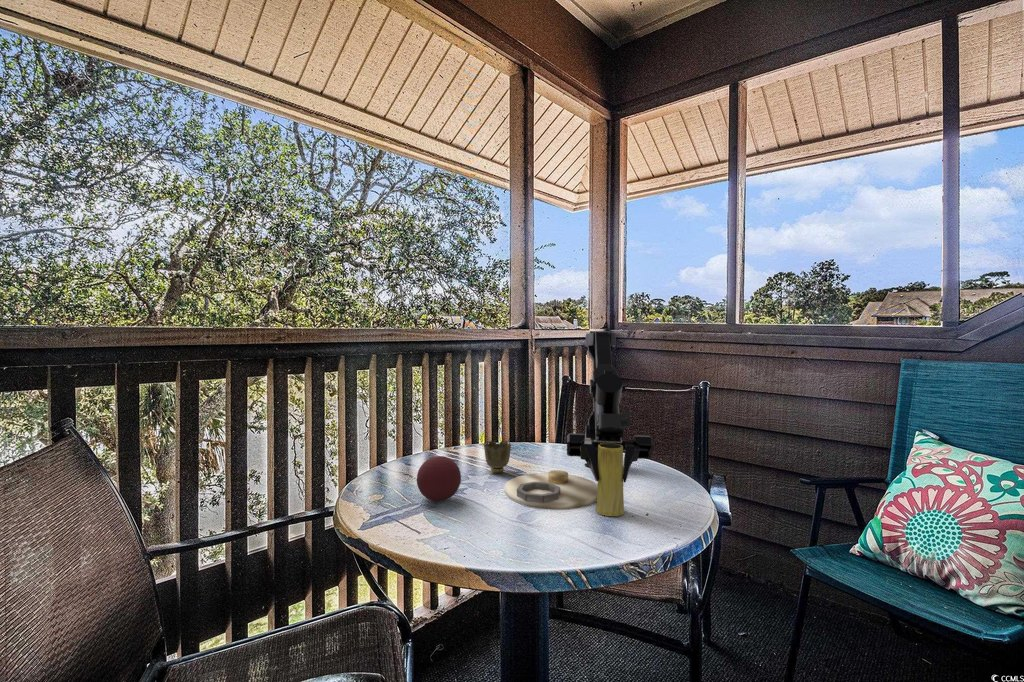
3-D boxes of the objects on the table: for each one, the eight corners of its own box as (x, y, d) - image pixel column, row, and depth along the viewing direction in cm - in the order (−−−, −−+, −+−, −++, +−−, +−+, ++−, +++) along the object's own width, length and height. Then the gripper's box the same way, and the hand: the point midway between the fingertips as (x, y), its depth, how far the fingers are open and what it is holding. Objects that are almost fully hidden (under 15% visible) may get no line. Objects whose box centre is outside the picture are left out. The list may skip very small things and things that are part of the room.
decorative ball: (449, 510, 102) (449, 464, 102) (408, 505, 105) (408, 460, 105) (467, 495, 112) (468, 453, 111) (429, 490, 115) (429, 449, 115)
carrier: (561, 472, 131) (561, 461, 131) (621, 497, 111) (621, 484, 111) (487, 485, 119) (487, 473, 119) (539, 516, 99) (539, 501, 99)
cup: (512, 469, 133) (512, 440, 133) (509, 477, 126) (509, 447, 126) (486, 468, 134) (486, 440, 134) (481, 476, 127) (481, 446, 127)
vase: (592, 514, 100) (593, 447, 100) (598, 504, 106) (599, 441, 106) (622, 519, 98) (622, 450, 98) (626, 508, 104) (627, 443, 103)
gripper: (567, 397, 107) (566, 459, 96) (652, 399, 104) (661, 463, 94) (567, 425, 115) (566, 485, 104) (646, 428, 112) (654, 489, 102)
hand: (611, 480), depth 100 cm, fingers closed on vase, 5 cm apart
